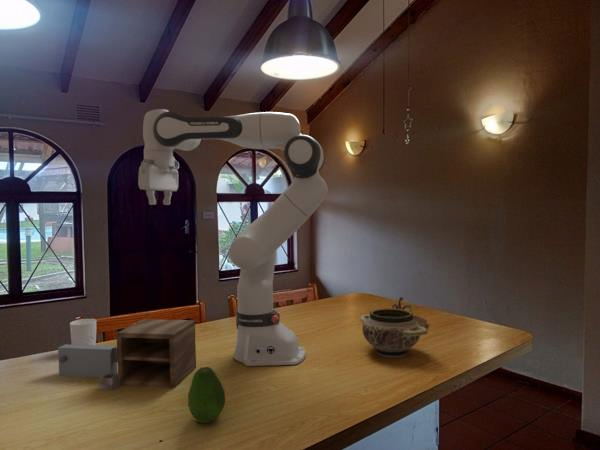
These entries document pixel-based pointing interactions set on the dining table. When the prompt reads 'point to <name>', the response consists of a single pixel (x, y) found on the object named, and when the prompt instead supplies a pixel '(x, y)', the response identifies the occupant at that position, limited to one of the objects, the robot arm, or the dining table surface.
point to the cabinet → (153, 354)
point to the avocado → (206, 396)
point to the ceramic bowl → (391, 331)
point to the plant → (420, 320)
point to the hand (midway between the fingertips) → (160, 204)
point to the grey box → (87, 360)
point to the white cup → (83, 332)
